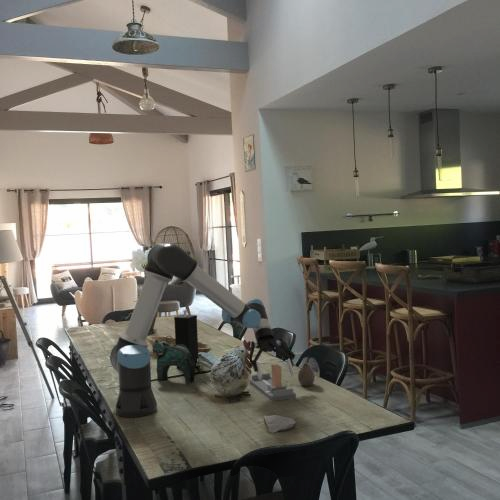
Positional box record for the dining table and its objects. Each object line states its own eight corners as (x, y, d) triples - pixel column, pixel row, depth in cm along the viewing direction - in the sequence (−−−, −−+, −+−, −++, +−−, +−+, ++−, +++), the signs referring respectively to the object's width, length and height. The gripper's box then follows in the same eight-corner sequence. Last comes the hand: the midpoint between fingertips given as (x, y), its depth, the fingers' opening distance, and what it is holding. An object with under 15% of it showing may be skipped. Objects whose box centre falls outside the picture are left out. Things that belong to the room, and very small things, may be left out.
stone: (293, 419, 191) (292, 409, 191) (297, 432, 179) (297, 421, 179) (263, 421, 190) (263, 411, 190) (266, 434, 178) (266, 423, 178)
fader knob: (267, 388, 219) (266, 365, 219) (281, 386, 221) (280, 363, 221) (272, 392, 215) (271, 368, 214) (286, 390, 217) (285, 366, 216)
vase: (314, 387, 225) (313, 366, 225) (297, 387, 226) (296, 366, 226) (315, 382, 232) (314, 362, 231) (299, 382, 233) (298, 362, 233)
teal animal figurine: (152, 380, 245) (150, 335, 243) (161, 376, 250) (159, 332, 249) (190, 384, 235) (188, 338, 234) (198, 380, 241) (196, 335, 240)
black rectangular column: (176, 368, 263) (173, 310, 261) (185, 364, 270) (183, 307, 268) (189, 370, 259) (187, 311, 258) (199, 365, 266) (196, 308, 265)
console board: (249, 383, 234) (249, 375, 234) (271, 380, 238) (271, 372, 237) (271, 401, 210) (271, 392, 210) (295, 397, 213) (295, 388, 213)
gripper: (288, 334, 239) (303, 377, 225) (233, 339, 231) (245, 384, 217) (292, 324, 233) (308, 367, 220) (236, 329, 226) (249, 374, 212)
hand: (276, 376), depth 219 cm, fingers open, 13 cm apart
